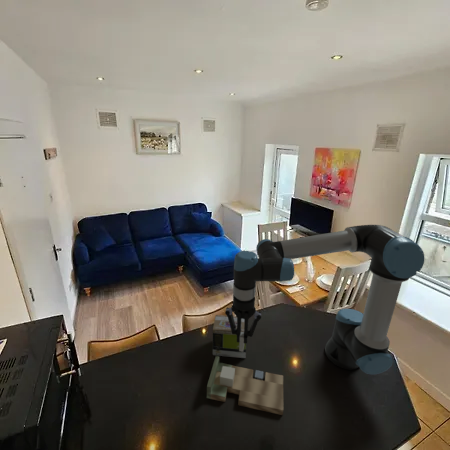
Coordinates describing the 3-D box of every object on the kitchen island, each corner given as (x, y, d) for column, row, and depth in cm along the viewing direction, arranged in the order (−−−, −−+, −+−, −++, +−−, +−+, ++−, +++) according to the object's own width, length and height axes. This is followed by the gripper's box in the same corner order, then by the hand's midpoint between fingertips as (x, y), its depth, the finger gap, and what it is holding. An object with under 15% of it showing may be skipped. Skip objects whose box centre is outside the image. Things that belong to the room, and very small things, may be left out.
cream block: (234, 375, 102) (235, 368, 100) (232, 387, 97) (232, 379, 96) (222, 373, 103) (222, 365, 101) (219, 384, 98) (219, 376, 97)
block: (263, 377, 104) (263, 371, 103) (262, 384, 101) (262, 378, 100) (255, 375, 105) (255, 369, 104) (254, 382, 102) (254, 376, 101)
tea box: (246, 341, 122) (247, 316, 117) (245, 359, 113) (247, 332, 108) (215, 338, 123) (215, 313, 118) (212, 355, 114) (212, 329, 109)
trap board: (282, 380, 103) (284, 369, 101) (282, 415, 90) (284, 403, 88) (215, 366, 108) (215, 355, 106) (206, 397, 95) (206, 386, 93)
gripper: (263, 291, 89) (259, 343, 97) (227, 286, 91) (226, 338, 99) (262, 304, 82) (258, 359, 90) (223, 299, 85) (222, 353, 92)
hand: (241, 348), depth 95 cm, fingers closed
